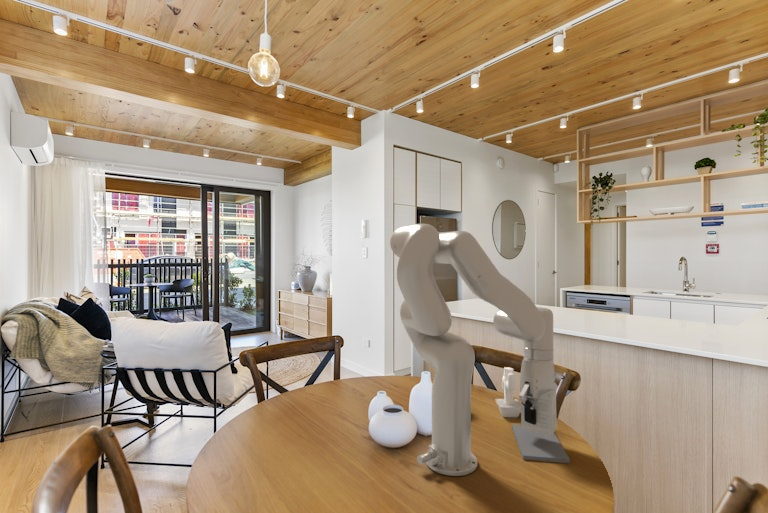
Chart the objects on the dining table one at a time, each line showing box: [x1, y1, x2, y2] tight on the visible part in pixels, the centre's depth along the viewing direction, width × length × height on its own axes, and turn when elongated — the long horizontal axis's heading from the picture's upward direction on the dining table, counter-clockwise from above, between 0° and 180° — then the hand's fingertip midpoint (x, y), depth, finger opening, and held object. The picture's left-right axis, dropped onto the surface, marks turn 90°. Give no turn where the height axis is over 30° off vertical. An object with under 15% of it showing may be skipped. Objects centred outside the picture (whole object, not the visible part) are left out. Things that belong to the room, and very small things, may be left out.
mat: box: [511, 424, 571, 464], centre depth 106 cm, size 18×11×1 cm, turn 171°
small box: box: [520, 390, 558, 436], centre depth 106 cm, size 8×6×10 cm
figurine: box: [494, 366, 521, 418], centre depth 126 cm, size 7×9×15 cm
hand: (538, 418), depth 106 cm, fingers closed on small box, 6 cm apart
